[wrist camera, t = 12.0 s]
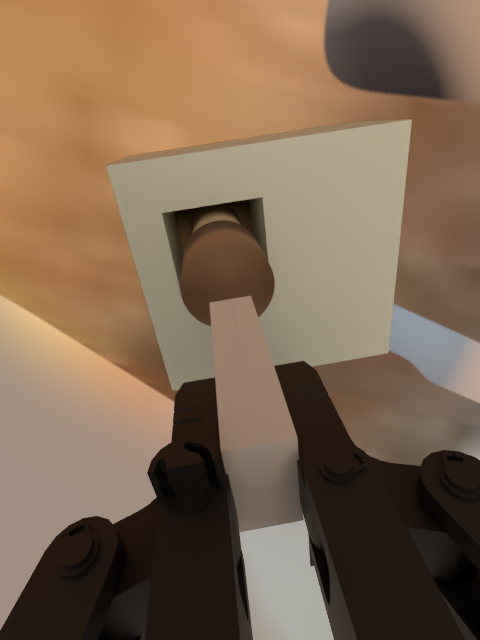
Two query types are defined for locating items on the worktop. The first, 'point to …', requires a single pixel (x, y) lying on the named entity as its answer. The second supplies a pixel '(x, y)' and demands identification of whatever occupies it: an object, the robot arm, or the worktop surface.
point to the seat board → (278, 237)
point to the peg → (223, 263)
